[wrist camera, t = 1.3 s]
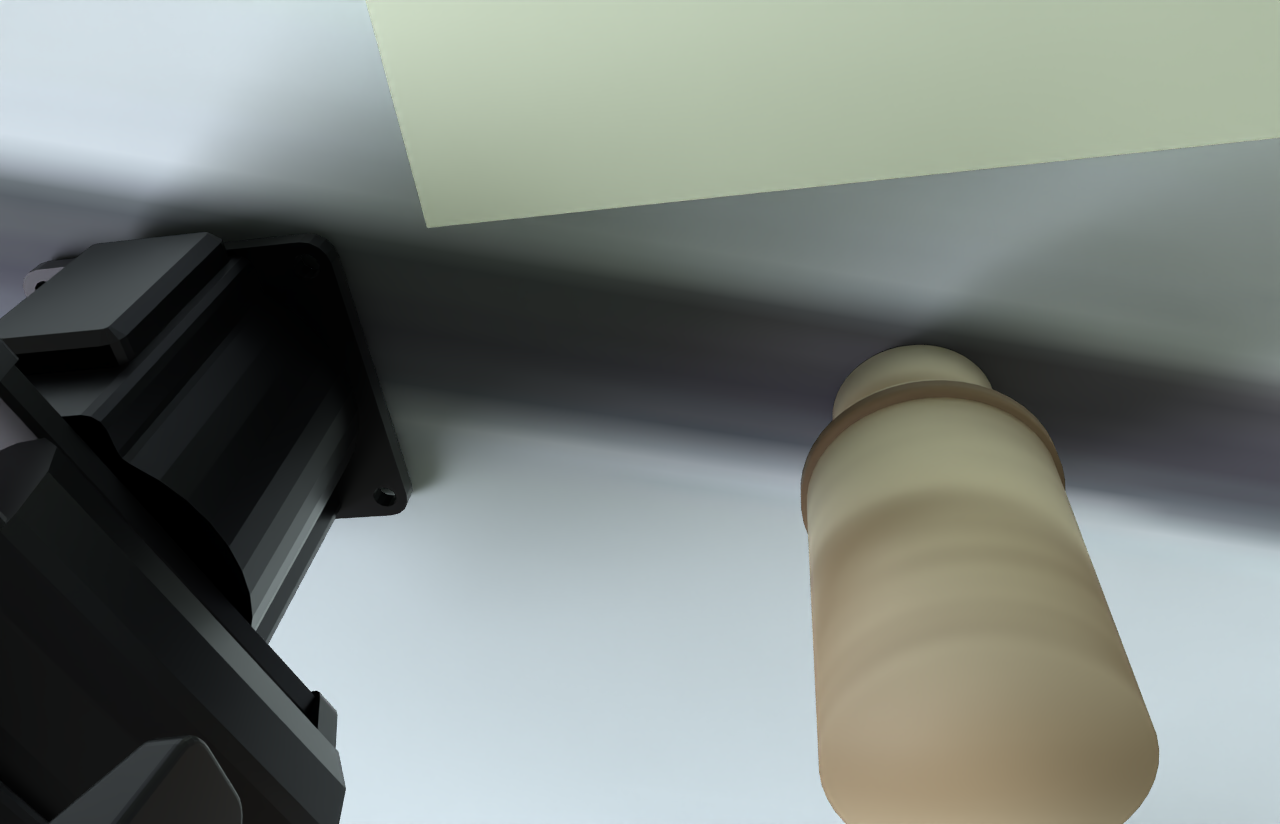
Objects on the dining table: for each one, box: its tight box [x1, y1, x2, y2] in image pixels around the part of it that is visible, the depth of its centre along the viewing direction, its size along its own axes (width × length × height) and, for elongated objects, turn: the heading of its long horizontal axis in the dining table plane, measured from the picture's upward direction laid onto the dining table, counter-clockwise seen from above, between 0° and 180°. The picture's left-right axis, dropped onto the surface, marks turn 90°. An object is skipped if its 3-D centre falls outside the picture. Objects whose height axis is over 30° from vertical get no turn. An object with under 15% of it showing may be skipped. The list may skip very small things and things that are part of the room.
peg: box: [801, 345, 1159, 824], centre depth 18 cm, size 5×5×9 cm
